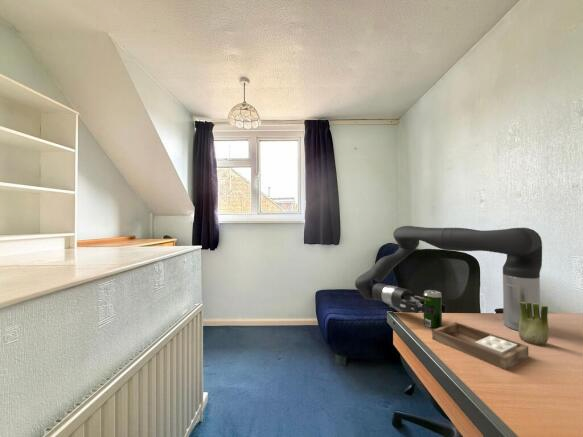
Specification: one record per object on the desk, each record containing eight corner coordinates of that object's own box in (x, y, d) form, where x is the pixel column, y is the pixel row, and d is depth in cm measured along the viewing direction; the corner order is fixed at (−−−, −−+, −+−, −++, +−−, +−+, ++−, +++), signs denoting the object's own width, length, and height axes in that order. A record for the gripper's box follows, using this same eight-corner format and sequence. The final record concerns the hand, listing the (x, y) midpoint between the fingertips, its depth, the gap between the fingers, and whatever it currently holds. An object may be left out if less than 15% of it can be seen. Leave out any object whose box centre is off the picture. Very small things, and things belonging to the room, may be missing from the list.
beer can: (437, 332, 82) (436, 295, 82) (420, 327, 86) (420, 291, 87) (445, 328, 85) (444, 292, 85) (429, 323, 89) (428, 289, 90)
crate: (455, 333, 82) (455, 322, 82) (528, 360, 66) (528, 346, 66) (432, 341, 76) (432, 330, 76) (505, 373, 60) (505, 358, 60)
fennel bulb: (550, 347, 72) (550, 304, 72) (541, 351, 70) (540, 307, 70) (525, 338, 77) (524, 299, 78) (515, 341, 76) (515, 301, 76)
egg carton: (490, 346, 71) (490, 332, 71) (517, 356, 66) (517, 341, 66) (475, 353, 68) (474, 339, 68) (502, 364, 62) (502, 349, 62)
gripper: (383, 289, 95) (426, 302, 80) (409, 284, 102) (453, 295, 87) (383, 310, 95) (426, 326, 80) (409, 303, 102) (453, 317, 87)
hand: (440, 310), depth 84 cm, fingers closed on beer can, 5 cm apart
